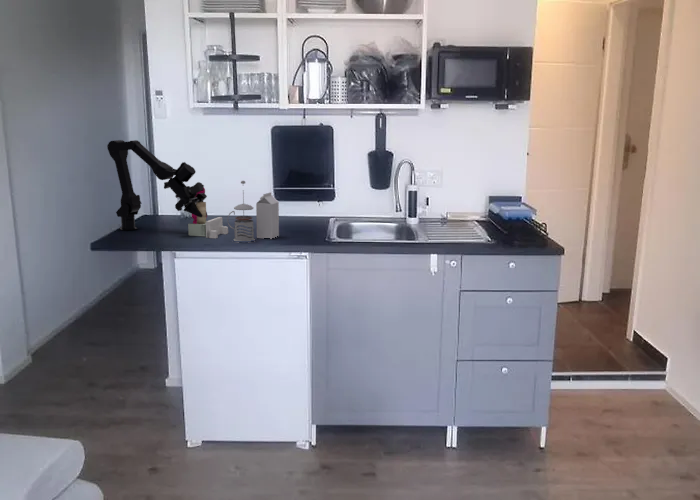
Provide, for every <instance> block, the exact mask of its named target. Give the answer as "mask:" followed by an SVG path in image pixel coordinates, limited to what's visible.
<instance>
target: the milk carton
mask: <svg viewBox="0 0 700 500" xmlns="http://www.w3.org/2000/svg"><path fill="white" fill-rule="evenodd" d="M255 207H256V210H255V213H256V217H255V218H256V238H257V239H264V238H270V239H269V240H273V239H272V238H274V239H276V238H278V237H280V220H279V215H280V214H279V210H280V206H279V201H278V200H277V199H276V198H275V197H274V196H273V195H272V191H271V192H268V193H263V195H262V196H260V197H259V200H258V201H257V202H256V205H255ZM277 236H278V237H277ZM275 237H276V238H275Z"/></svg>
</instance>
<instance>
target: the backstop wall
mask: <svg viewBox="0 0 700 500" xmlns="http://www.w3.org/2000/svg"><path fill="white" fill-rule="evenodd" d="M228 234H229V226H226V225H225V226H224V225H223V217H222V216H218V217H215V218H212V219H209V220H206V236H205V238H206V239H218V237H219V235H228Z"/></svg>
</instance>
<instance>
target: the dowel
mask: <svg viewBox="0 0 700 500" xmlns="http://www.w3.org/2000/svg"><path fill="white" fill-rule="evenodd" d="M196 207H197V208H198V210H199V211H200V212H201V214H202V215H203V216H202V217H198V216H197V224H205V223H206V221H207V218H206V211H207V202H206V201H203V202H196Z"/></svg>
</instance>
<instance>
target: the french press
mask: <svg viewBox="0 0 700 500" xmlns="http://www.w3.org/2000/svg"><path fill="white" fill-rule="evenodd" d="M240 184H242V185H244V184H246V181H245V180H241V181H240ZM244 194H245V192H244V191H242V203H241V204H237V205H236V206H234V207H233V209H234V210H232V211H230V212H229V213H228V215H227V225H228V227H230V228H231V229H233V231H234V238H233V240H234V241H251V240H255V239H256V238H255V235H254V234H255V233H254V220H253V216H250V215H249V216H248V215H245V211H252V210H254V207H253V206H252V205H251V204H248V203H247V204H246V203H245V201H244V200H245V199H244V197H245V196H244ZM235 210H237V211H242V213H243V215H238V216H237V215H236V216H235V214H236V212H235ZM232 213H233V215H234V216H235V218H234V219H235V220H234V227H233V226H231V224H230V222H229V216H230V215H231V214H232Z"/></svg>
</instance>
